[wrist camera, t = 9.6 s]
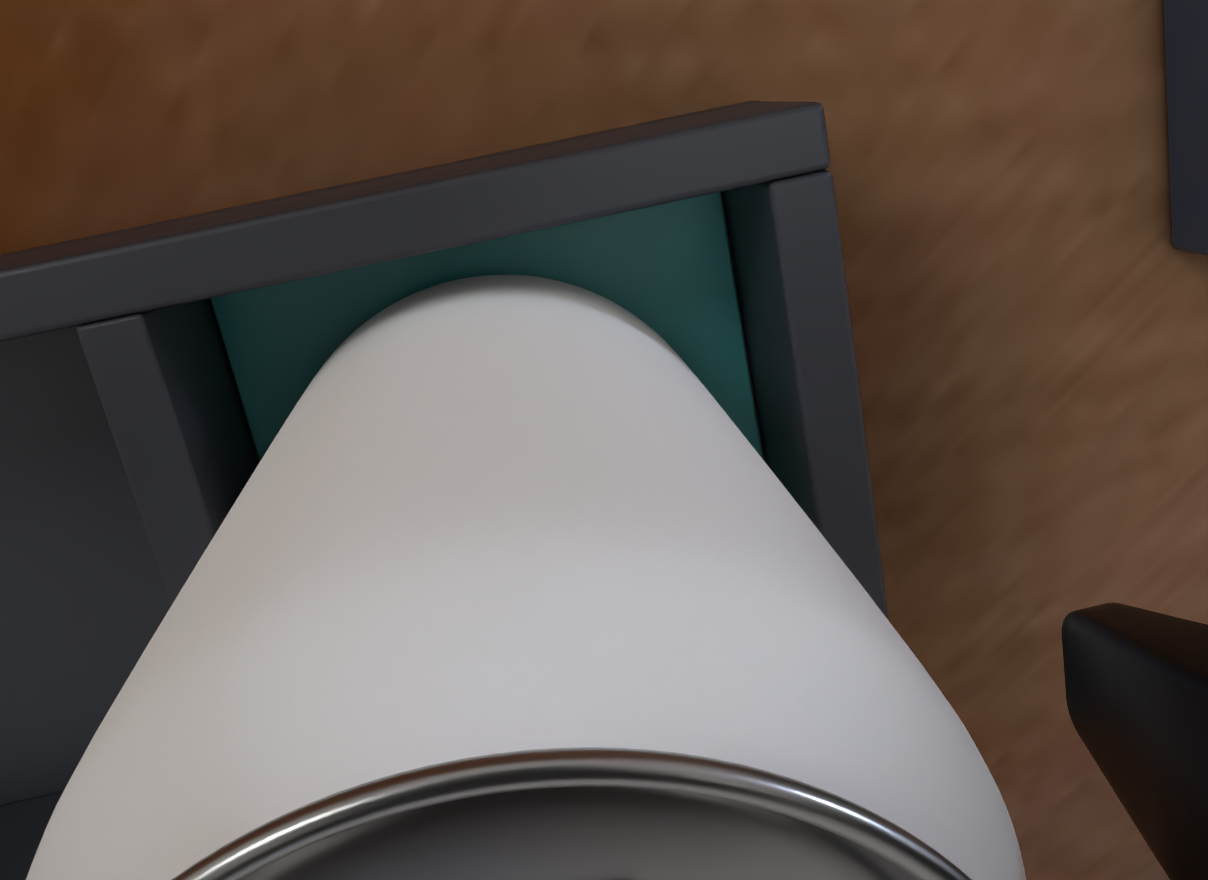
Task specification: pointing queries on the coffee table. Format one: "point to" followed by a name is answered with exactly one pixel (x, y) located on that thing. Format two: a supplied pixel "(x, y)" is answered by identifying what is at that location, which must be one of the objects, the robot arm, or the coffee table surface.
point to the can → (523, 642)
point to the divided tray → (327, 318)
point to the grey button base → (1187, 121)
